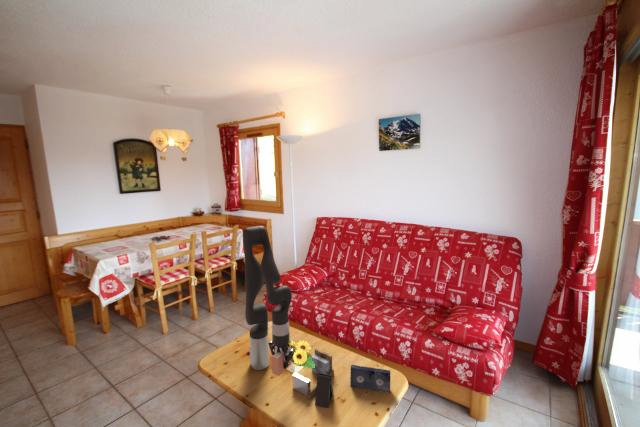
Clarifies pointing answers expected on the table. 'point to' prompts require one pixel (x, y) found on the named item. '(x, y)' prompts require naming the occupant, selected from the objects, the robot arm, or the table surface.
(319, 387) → the door stopper
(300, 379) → the grey flat box
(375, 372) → the vhs cassette tape
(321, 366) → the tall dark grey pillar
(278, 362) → the book
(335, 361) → the table surface
